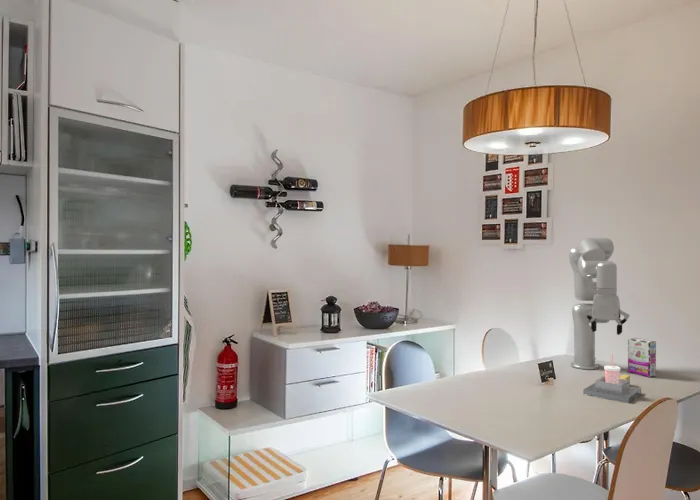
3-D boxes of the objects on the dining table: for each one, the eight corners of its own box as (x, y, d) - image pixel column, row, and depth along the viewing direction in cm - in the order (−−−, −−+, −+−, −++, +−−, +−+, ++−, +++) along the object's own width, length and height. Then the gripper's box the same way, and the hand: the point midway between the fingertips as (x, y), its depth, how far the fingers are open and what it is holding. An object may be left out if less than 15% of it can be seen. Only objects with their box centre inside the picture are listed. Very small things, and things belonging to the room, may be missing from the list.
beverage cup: (605, 385, 217) (605, 352, 217) (622, 388, 213) (622, 354, 213) (602, 389, 212) (602, 355, 212) (618, 392, 209) (618, 357, 208)
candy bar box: (656, 376, 239) (656, 341, 239) (649, 377, 237) (649, 342, 237) (634, 371, 249) (634, 337, 249) (627, 372, 247) (627, 338, 247)
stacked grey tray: (597, 385, 225) (597, 373, 225) (641, 393, 213) (641, 380, 213) (583, 394, 213) (583, 381, 212) (628, 403, 201) (628, 388, 201)
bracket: (616, 382, 229) (616, 370, 229) (636, 386, 224) (636, 373, 224) (606, 389, 219) (606, 376, 219) (626, 393, 214) (626, 379, 214)
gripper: (581, 291, 219) (581, 331, 219) (626, 294, 207) (626, 336, 207) (588, 289, 224) (588, 329, 225) (632, 292, 212) (631, 334, 213)
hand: (606, 332), depth 216 cm, fingers open, 9 cm apart
